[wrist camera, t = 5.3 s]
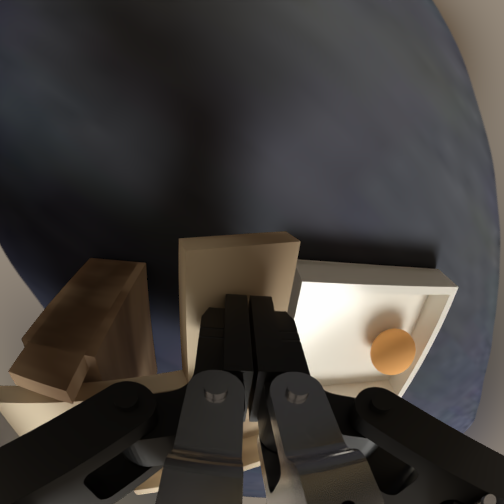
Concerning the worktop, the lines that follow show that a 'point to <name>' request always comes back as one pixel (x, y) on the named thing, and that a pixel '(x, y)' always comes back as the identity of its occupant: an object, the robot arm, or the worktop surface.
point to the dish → (364, 319)
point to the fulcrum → (90, 332)
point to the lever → (184, 326)
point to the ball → (392, 351)
